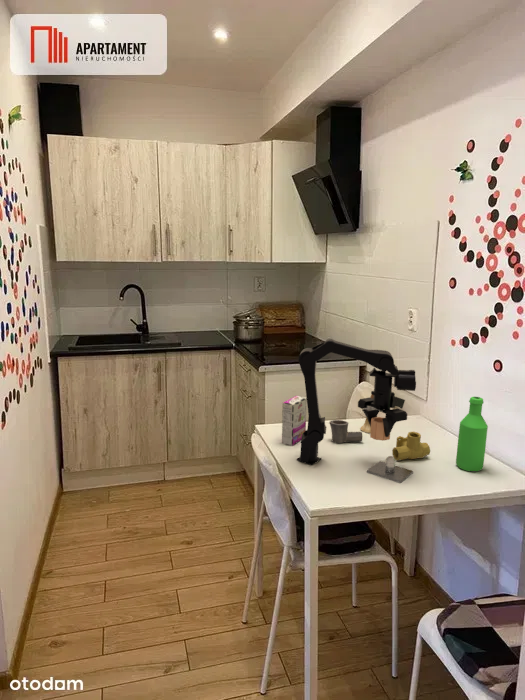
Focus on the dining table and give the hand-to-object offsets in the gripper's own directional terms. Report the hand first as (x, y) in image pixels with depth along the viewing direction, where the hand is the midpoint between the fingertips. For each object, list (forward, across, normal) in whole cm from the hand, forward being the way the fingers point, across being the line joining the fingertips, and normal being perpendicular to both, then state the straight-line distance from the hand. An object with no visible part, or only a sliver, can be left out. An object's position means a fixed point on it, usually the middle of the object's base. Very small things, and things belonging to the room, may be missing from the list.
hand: (380, 433), depth 175 cm
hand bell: (+12, +30, -21) cm, 38 cm away
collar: (+1, 0, 0) cm, 1 cm away
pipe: (+12, +24, -4) cm, 27 cm away
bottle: (+12, -14, -28) cm, 34 cm away
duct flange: (+12, -6, 0) cm, 13 cm away
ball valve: (+12, +3, -16) cm, 20 cm away
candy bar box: (+12, +33, +14) cm, 38 cm away
